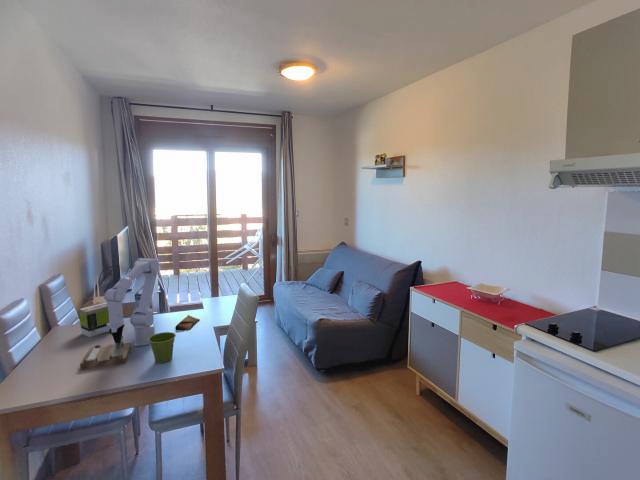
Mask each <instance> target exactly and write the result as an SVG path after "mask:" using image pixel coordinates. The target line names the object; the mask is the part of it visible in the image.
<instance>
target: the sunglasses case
mask: <svg viewBox="0 0 640 480" xmlns="http://www.w3.org/2000/svg"><path fill="white" fill-rule="evenodd" d="M200 321H201V319H199V318H196V317H193V316H192V315H189V314H188V315H187V316H186V317H184V318H183V319H182V320H181V321H179V323H177V324H176V325H175V329H174V330H175V331H176V330H183V331H190V330H191V329H192V328H193V327H194V326H195V325H197V323H198V322H200Z"/></svg>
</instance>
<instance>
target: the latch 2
mask: <svg viewBox="0 0 640 480" xmlns="http://www.w3.org/2000/svg"><path fill="white" fill-rule="evenodd" d="M122 342H124V335H122V339H121V341H120V343H115V342H114V344H115V345H114V344H113V345H114V350H113V355H112V358H114V357H120V353H121V347H122Z"/></svg>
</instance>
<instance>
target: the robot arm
mask: <svg viewBox="0 0 640 480" xmlns="http://www.w3.org/2000/svg"><path fill="white" fill-rule="evenodd" d="M159 268H160V262H159V260H158V259H156V258H143V257H139V258H138V259H136V261H135V262H134V266H133V267H132V269H131V270H130V272H129V273H127V275H126V277H125V276H124V277H123V276H122V277H120V279H119V280H118V282H116V283H115V284H114V286H113V287H111V288H109V289H107V290H106V291H105V293H104V296H103V299H104V300H105V302H107V305H108V311H109V322H110V323H108V324H107V326H110V327H111V329H110V330H109V331H108V332H109V333H110V335H111V336H112V338H113V339H112V340H114V341H113V342H114V344H115V343H120V341H121V339H122V336H123V331H124V327H125V321H124V313H123V301H124V298H125V296H126V292H127V291H128V290H129V289H130V288H131V287H132V286H133V281H135V279H136V278H137V277H138V276H139V275H141V274H142V275H143V276H144V281H143V285H142V286H143V289H142V294H141V298H140V302H139V306H138V308H136V307H135V309H133V312H132V315H131V316H130V319H129V323H130V325H132V327H133V328H134V337H135V342H134V344H133V347H139V346H140V347H141V346H147V345H149V346H150V342H149V341H148V338H149V337H151V336H152V335H155V334H156V329H155V324H153V323H154V322H153V318H154V310H153V311H152V310H151V309H150V304H151V300H152V301H153V295H154V291H155V286H156V281H157V277H158V274H159V273H158V272H159ZM141 313H146V314H141ZM152 322H153V323H152ZM151 324H152V325H151Z"/></svg>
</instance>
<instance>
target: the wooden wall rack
mask: <svg viewBox="0 0 640 480" xmlns="http://www.w3.org/2000/svg"><path fill="white" fill-rule="evenodd" d="M114 345H115V343H114V344H108V345H107V344H106V345H100V344H96V345H94V346H93V347H92V346H91V347H89V349H88V351H86V353H85V355H84V357H83V358H82V360H81V361H80V363H79V368H80V370H83V371H84V370H88V369H93V368H103V367H107V366H108V367H109V366H115V365H121V364H127V362H128V358H129V356H130V354H131V350H132V348H133V347H132V342H124V341H122V347H121V353H120V357H114V358H112V355H113V350H114ZM98 347H101V350H100V351H99V353H98V355H97V357H96V359H95V360H94V361H87V359H88V357H89V355H90V354H91V352H92V350H93V348H98Z"/></svg>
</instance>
